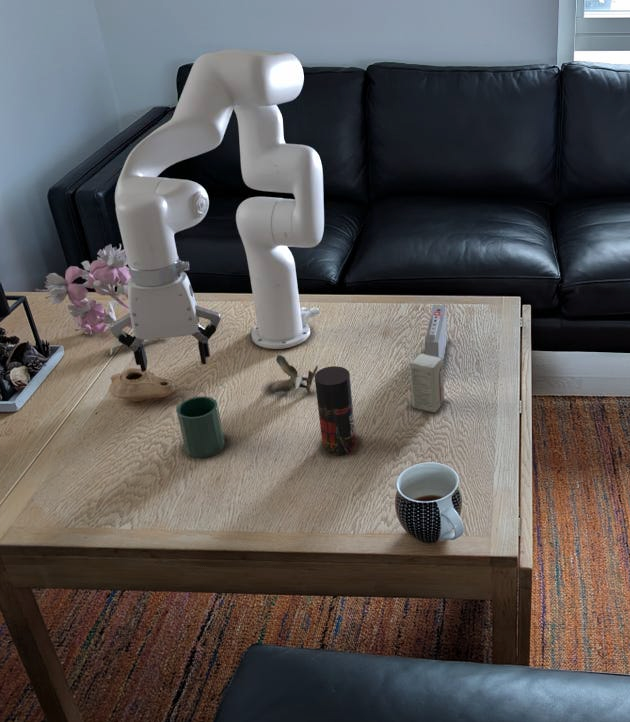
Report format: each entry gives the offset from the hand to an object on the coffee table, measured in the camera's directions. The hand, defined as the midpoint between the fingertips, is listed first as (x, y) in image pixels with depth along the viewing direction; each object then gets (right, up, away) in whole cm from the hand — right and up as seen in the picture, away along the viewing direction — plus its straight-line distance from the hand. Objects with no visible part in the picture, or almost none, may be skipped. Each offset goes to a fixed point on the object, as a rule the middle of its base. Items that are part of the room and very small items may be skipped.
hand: (174, 363), depth 140 cm
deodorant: (+26, -15, +9) cm, 32 cm away
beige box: (+42, -8, +21) cm, 47 cm away
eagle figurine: (+14, -5, +25) cm, 29 cm away
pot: (+2, -15, +9) cm, 17 cm away
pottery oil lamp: (-14, -7, +22) cm, 27 cm away
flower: (-30, +5, +41) cm, 51 cm away
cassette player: (+43, 0, +35) cm, 55 cm away
